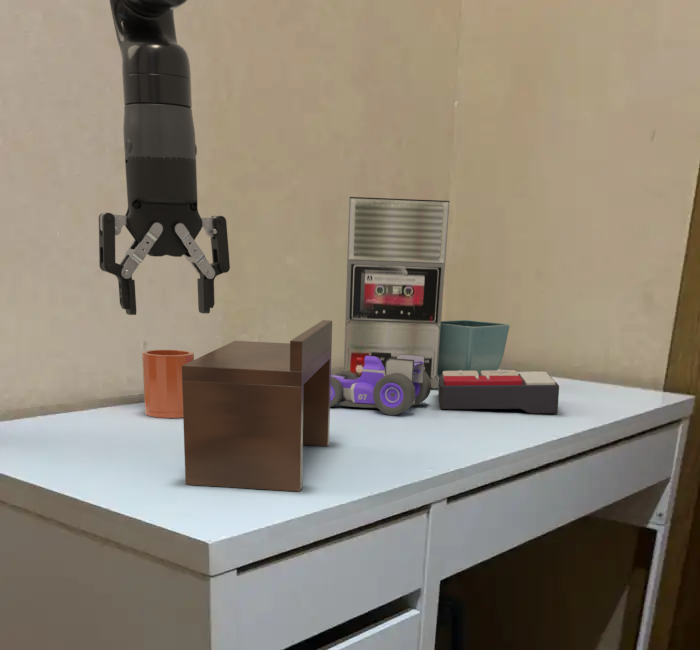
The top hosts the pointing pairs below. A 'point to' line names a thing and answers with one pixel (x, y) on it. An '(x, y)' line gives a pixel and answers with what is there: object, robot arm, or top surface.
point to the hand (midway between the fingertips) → (168, 313)
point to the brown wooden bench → (257, 411)
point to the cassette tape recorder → (395, 280)
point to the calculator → (499, 391)
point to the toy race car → (383, 385)
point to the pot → (164, 382)
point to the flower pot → (471, 345)
